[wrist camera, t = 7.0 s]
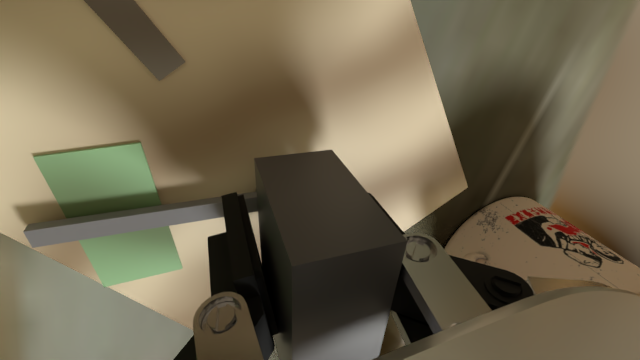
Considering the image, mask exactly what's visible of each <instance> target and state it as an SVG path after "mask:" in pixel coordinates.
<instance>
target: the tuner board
mask: <svg viewBox="0 0 640 360" xmlns="http://www.w3.org/2000/svg"><path fill="white" fill-rule="evenodd" d="M323 150H333V152H334V153H335V154H336V155H337V156H338V158H339V159H340V160H341V161H342V162H343V164H344V165H345V166H346V167H347V168H348V170H349V171H350V172H351V173H352V174H353V176H354V177H355V178H356V179H357V181H358V182H359V183H360V184H361V185H362V187H363V188H364V189H365V190H366V191H367V193H371V194H372V195H373V196H374V197H375V199H376V200H377V201H378V202H379V203H380V205H381V206H382V207H383V208H384V209H385V211H386V212H387V213H388V214H389V215H390V217H391V218H392V219H393V220H394V221H395V223H396V224H397V225H398V226H399V227H400V229H401V230H402V231H403V232H404V231H405V230H407V229H408V228H410V227H411V226H413V225H414V224H416V223H417V222H418V221H420V220H421V219H423V218H424V217H426V216H427V215H429V214H430V213H432V212H433V211H434V210H436V209H437V208H439V207H440V206H442V205H443V204H445V203H446V202H447V201H449V200H450V199H452V198H453V197H455V196H456V195H458V194H459V193H461V192H462V191H463V190H465V189H466V188H468V185H467V182H466V179H465V176H464V172H463V169H462V166H461V163H460V160H459V156H458V153H457V150H456V147H455V143H454V140H453V137H452V134H451V130H450V127H449V124H448V121H447V118H446V114H445V111H444V108H443V105H442V101H441V98H440V95H439V92H438V88H437V85H436V82H435V79H434V76H433V72H432V69H431V66H430V63H429V59H428V56H427V53H426V50H425V46H424V43H423V40H422V37H421V34H420V30H419V27H418V24H417V21H416V17H415V14H414V11H413V8H412V4H411V1H410V0H0V233H2V234H4V235H6V236H8V237H10V238H12V239H14V240H16V241H18V242H20V243H22V244H24V245H26V246H28V247H30V248H32V246H31V245H30V243H29V241H28V239H27V238H26V236H25V234H24V232H23V231H24V230H25V228H26V227H27V225H28V224H32V223H39V222H46V221H53V220H60V219H67V218H74V217H81V216H88V215H95V214H102V213H109V212H116V211H123V210H130V209H137V208H144V207H151V206H158V205H165V204H172V203H179V202H186V201H193V200H200V199H207V198H214V197H221V196H222V195H226V194H230V193H234V192H237V194H242V193H249V192H255V191H256V178H255V164H254V158H260V157H269V156H278V155H287V154H296V153H305V152H314V151H323ZM249 217H250V221H251V225H252V229H253V232H254V236H255V240H256V244H257V248H258V251H259V255H260V259H261V247H260V233H259V220H258V211H257V212H251V213H249ZM224 232H226V227H225V219H224V217H220V218H214V219H208V220H202V221H196V222H189V223H183V224H177V225H171V226H165V227H159V228H152V229H146V230H140V231H134V232H128V233H121V234H115V235H109V236H103V237H97V238H91V239H84V240H78V241H72V242H66V243H60V244H54V245H47V246H41V247H35V248H32V249H34V250H36V251H38V252H40V253H42V254H44V255H46V256H48V257H50V258H52V259H54V260H56V261H58V262H60V263H62V264H64V265H66V266H67V267H69V268H71V269H73V270H75V271H77V272H79V273H81V274H83V275H85V276H87V277H89V278H91V279H93V280H95V281H97V282H99V283H101V284H103V286H104V287H109V288H111V289H113V290H115V291H117V292H119V293H121V294H123V295H125V296H127V297H129V298H131V299H133V300H135V301H137V302H139V303H141V304H143V305H145V306H146V307H148V308H150V309H152V310H154V311H156V312H158V313H160V314H162V315H164V316H166V317H168V318H170V319H172V320H174V321H176V322H178V323H180V324H182V325H184V326H186V327H188V328H190V329H192V330H193V318H194V315H195V313H196V311H197V309H198V308H199V307H200V305H201V304H202V303H203V302H204V301H206V300H207V299H208V298H210V297H211V288H210V272H209V256H208V237H209V236H213V235H217V234H220V233H224ZM261 263H262V261H261Z"/></svg>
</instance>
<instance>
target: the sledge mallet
mask: <svg viewBox="0 0 640 360" xmlns="http://www.w3.org/2000/svg"><path fill="white" fill-rule="evenodd" d="M254 164H255V178H256V191H255V192H249V193H242V194H243V195H244V198H245V202H246V206H247V210H248V213H251V212H257V211H258V220H259V233H260V247H261V261H262V268H263V272H264V276H265V280H266V284H267V288H268V292H269V296H270V300H271V304H272V308H273V312H274V316H275V320H276V324H277V329H278V334H276V335H274V339H275V343H276V347H277V352H278V356H279V360H372V359H374V358H377V357H379V353H380V349H381V345H382V341H383V337H384V333H385V329H386V325H387V321H388V317H389V313H390V309H391V305H392V301H393V297H394V293H395V289H396V285H397V281H398V277H399V273H400V269H401V265H402V261H403V257H404V253H405V249H406V245H407V240H406V238H405V237H404V236H403V235H402V234H401V232H400V231H399V230H398V229H397V228H396V226H395V225H394V224H393V223H392V222H391V220H390V219H389V218H388V217H387V216H386V214H385V213H384V212H383V211H382V209H381V208H380V207H379V206H378V205H377V203H376V202H375V201H374V200H373V199H372V197H371V196H370V195H369V194H368V193H367V191H366V190H365V189H364V188H363V187H362V185H361V184H360V183H359V182H358V181H357V179H356V178H355V177H354V176H353V174H352V173H351V172H350V171H349V170H348V168H347V167H346V166H345V165H344V164H343V162H342V161H341V160H340V159H339V158H338V156H337V155H336V154H335V153H334V152H333V150H323V151H314V152H305V153H296V154H287V155H278V156H269V157H260V158H254ZM242 194H237V195H238V196H239V195H242ZM220 217H224V212H223V205H222V197H214V198H207V199H200V200H193V201H186V202H179V203H172V204H165V205H158V206H151V207H144V208H137V209H130V210H123V211H116V212H109V213H102V214H95V215H88V216H81V217H74V218H67V219H60V220H53V221H46V222H39V223H32V224H28V225H27V227H26V228H25V230H24V231H23V232H24V234H25V236H26V238H27V239H28V241H29V243H30V245H31V246H32V248H35V247H41V246H47V245H54V244H60V243H66V242H72V241H78V240H84V239H91V238H97V237H103V236H109V235H115V234H121V233H128V232H134V231H140V230H146V229H152V228H159V227H165V226H171V225H177V224H183V223H189V222H196V221H202V220H208V219H214V218H220Z"/></svg>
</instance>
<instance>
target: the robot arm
mask: <svg viewBox="0 0 640 360" xmlns="http://www.w3.org/2000/svg"><path fill="white" fill-rule="evenodd" d="M368 194H369V195H370V196H371V197H372V199H373V200H374V201H375V202H376V203H377V205H378V206H379V207H380V208H381V209H382V211H383V212H384V213H385V214H386V216H387V217H388V218H389V219H390V220H391V222H392V223H393V224H394V225H395V226H396V228H397V229H398V230H399V231H400V232H401V234H402V235H403V236H404V237H405V238H406V240H407V245H406V249H405V253H404V257H403V261H402V265H401V269H400V273H399V277H398V281H397V285H396V289H395V293H394V297H393V301H392V305H391V309H390V311H391V314H392V317H393V319H394V321H395V323H396V325H397V328H398V330H399V332H400V334H401V336H402V338H403V340H404V342H405V344H406V346H404V347H401V348H399V349H396V350H394V351H391V352H389V353H386V354H384V355H382V356H379V357H377V358H374V359H372V360H640V295H639V294H637V293H634V292H630V291H627V290H622V289H617V288H612V287H610V286H608V285H605V284H603V283H599V282H594V281H585V280H571V279H557V278H543V277H529V276H528V277H527V279H526V280H524V279H523V278H521V277H520V276H518V275H516V274H515V273H512V272H510V271H507V270H504V269H500V268H496V267H492V266H489V265H485V264H481V263H478V262H474V261H470V260H466V259H463V258H459V257H455V256H451V255H448V254H447V252H446V251H445V250H444V248H443V247H442V246H441V245H440V243H439V242H438V241H437V240H436V239H434V238H433V237H431V236H429V235H426V234H423V233H417V232H413V233H407V234H405V233H404V232H403V231H402V230H401V229H400V227H399V226H398V225H397V224H396V223H395V221H394V220H393V219H392V218H391V217H390V215H389V214H388V213H387V212H386V211H385V209H384V208H383V207H382V206H381V205H380V203H379V202H378V201H377V200H376V199H375V197H374V196H373V195H372V194H371V193H368ZM221 197H222V205H223V212H224V219H225V227H226V232H224V233H220V234H217V235H213V236H209V237H208V256H209V272H210V288H211V297H210V298H208V299H207V300H206V301H204V302H203V303H202V304H201V305H200V307H199V308H198V309H197V311H196V313H195V315H194V318H193V332H194V335H193V337H192V338H191V339H190V340H189V341H188V343H187V344H186V345H185V346H184V348H183V349H182V350H181V351H180V352H179V354H178V355H177V356H176V357H175V358H174V360H268V359H269V357H270V355H271V354H272V352H273V350H274V346H275V345H274V341H273V335H276V334H278V329H277V324H276V320H275V316H274V312H273V308H272V304H271V300H270V296H269V292H268V288H267V284H266V280H265V276H264V272H263V268H262V263H261V259H260V255H259V251H258V248H257V244H256V240H255V236H254V232H253V229H252V225H251V221H250V217H249V213H248V210H247V206H246V202H245V198H244V195H243V194H242V195H239V196H238V195H237V192H234V193H230V194H226V195H222V196H221Z"/></svg>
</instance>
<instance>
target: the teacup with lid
mask: <svg viewBox="0 0 640 360" xmlns="http://www.w3.org/2000/svg"><path fill="white" fill-rule="evenodd" d="M444 250H445V251H446V252H447V254H448V255H451V256H455V257H459V258H463V259H466V260H470V261H474V262H478V263H481V264H485V265H489V266H492V267H496V268H500V269H504V270H507V271H510V272H512V273H515V274H516V275H518V276H520V277H521V278H523V279H524V280H526V279H527V277H528V276H529V277H543V278H557V279H571V280H585V281H594V282H599V283H603V284H605V285H608V286H610V287H612V288H617V289H622V290H627V291H630V292H634V293H637V294H639V295H640V268H638V267H637V266H635V265H634V264H632V263H631V262H629V261H628V260H626V259H624V258H623V257H621V256H620V255H618V254H617V253H615V252H614V251H612V250H611V249H609V248H608V247H606V246H604V245H603V244H601V243H600V242H598V241H597V240H595V239H593V238H592V237H590V236H589V235H587V234H586V233H584V232H583V231H581V230H579V229H578V228H576V227H575V226H573V225H572V224H570V223H569V222H567V221H565V220H564V219H562V218H561V217H559V216H558V215H556V214H555V213H553V212H551V211H550V210H548V209H547V208H545V207H544V206H542V205H541V204H539V203H537V202H536V201H534V200H532V199H530V198H527V197H509V198H505V199H501V200H499V201H496V202H494V203H492V204H490V205H488V206H486V207H484V208H482V209H481V210H479V211H478V212H476V213H475V214H474V215H472V216H471V217H470V218H469V219H468V220H466V221H465V222H464V223H463V224H462V225H461V226H460V227H459V228H458V230H457V231H456V232H455V233H454V234H453V236H452V237H451V238H450V240H449V241H448V243H447V245H446V247H445V249H444Z"/></svg>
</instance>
